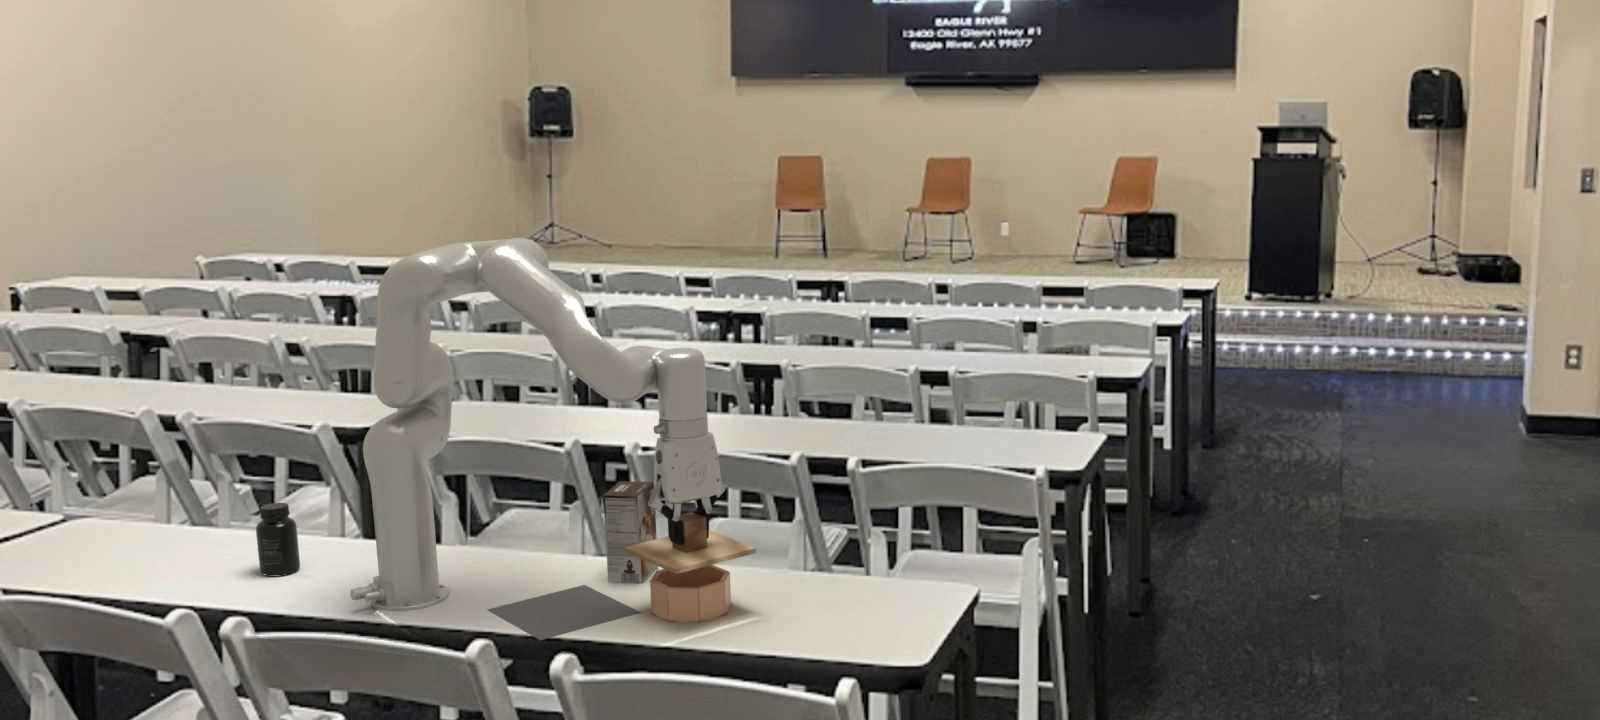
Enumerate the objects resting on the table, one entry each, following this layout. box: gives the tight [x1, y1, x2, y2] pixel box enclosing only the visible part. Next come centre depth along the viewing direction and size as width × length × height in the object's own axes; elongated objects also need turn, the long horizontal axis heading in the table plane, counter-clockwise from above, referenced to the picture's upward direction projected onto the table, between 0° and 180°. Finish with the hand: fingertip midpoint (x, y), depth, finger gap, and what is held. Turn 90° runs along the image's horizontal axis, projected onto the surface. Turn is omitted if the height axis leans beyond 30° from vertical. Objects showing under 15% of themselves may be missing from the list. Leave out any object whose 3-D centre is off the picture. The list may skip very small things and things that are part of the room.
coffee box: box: [602, 480, 659, 585], centre depth 261 cm, size 9×6×16 cm
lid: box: [625, 511, 757, 574], centre depth 243 cm, size 15×15×6 cm
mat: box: [486, 584, 642, 641], centre depth 246 cm, size 18×18×1 cm
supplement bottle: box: [255, 502, 301, 576], centre depth 271 cm, size 7×7×12 cm
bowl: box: [649, 564, 732, 623], centre depth 245 cm, size 12×12×6 cm
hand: (689, 538), depth 243 cm, fingers closed on lid, 4 cm apart
